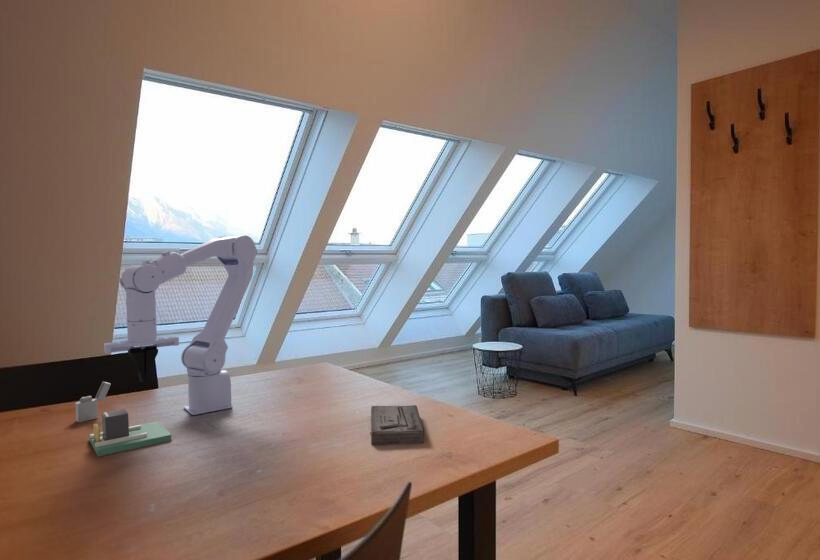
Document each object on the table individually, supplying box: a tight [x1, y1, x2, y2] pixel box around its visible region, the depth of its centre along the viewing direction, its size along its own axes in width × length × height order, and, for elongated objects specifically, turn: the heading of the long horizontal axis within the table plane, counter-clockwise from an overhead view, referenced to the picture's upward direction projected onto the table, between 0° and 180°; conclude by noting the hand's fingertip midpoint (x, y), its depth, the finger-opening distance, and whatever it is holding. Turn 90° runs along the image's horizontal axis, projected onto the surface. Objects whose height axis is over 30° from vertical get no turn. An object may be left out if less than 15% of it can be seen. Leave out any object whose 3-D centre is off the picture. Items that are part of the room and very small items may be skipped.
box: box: [369, 404, 425, 446], centre depth 111 cm, size 11×17×3 cm, turn 5°
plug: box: [101, 408, 130, 441], centre depth 104 cm, size 4×4×5 cm
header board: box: [88, 420, 173, 457], centre depth 105 cm, size 13×11×4 cm
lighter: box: [74, 381, 111, 423], centre depth 120 cm, size 7×2×8 cm, turn 141°
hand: (144, 381), depth 114 cm, fingers closed
